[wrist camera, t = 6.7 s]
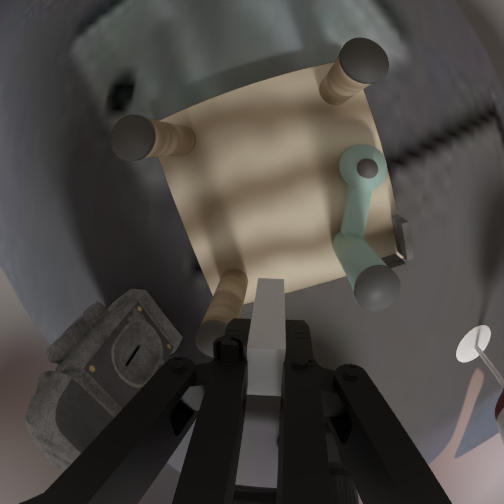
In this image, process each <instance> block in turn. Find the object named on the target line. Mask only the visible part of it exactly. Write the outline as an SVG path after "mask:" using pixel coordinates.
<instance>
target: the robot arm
mask: <svg viewBox="0 0 504 504" xmlns="http://www.w3.org/2000/svg"><path fill="white" fill-rule="evenodd" d="M213 354H214V360H213V361H212V362H209V363H206V364H199V365H194V363H193V361H192V360H190V359H188V358H185V357H174V358H172V359H169V360H168V361H166V362H165V363H164V364H163V365H162V366H161V367H160V369H159V370H158V371H157V372H156V373H155V374H154V375H153V376H152V377H151V378H150V379H149V381H148V382H147V383H146V384H145V385H144V386H143V387H142V388H141V389H140V390H139V391H138V393H137V394H136V395H135V396H134V397H133V398H132V399H131V400H130V401H129V402H128V403H127V405H126V406H125V407H124V408H123V409H122V410H121V411H120V412H119V413H118V414H117V415H116V416H115V418H114V419H113V420H112V421H111V422H110V423H109V424H108V425H107V426H106V427H105V428H104V429H103V431H102V432H101V433H100V434H99V435H98V436H97V437H96V438H95V439H94V440H93V441H92V442H91V443H90V444H89V446H88V447H87V448H86V449H85V450H84V451H83V452H82V453H81V454H80V455H79V456H78V457H77V458H76V459H75V461H74V462H73V463H72V464H71V465H70V466H69V467H68V468H67V469H66V470H65V471H64V472H63V473H62V474H61V476H59V478H58V479H57V480H56V481H55V482H54V483H53V484H52V485H51V486H50V487H49V488H48V489H47V490H46V491H45V492H44V493H43V494H40V495H38V496H36V497H34V498H31V499H29V500H27V501H24V502H22V503H19V504H137V503H138V502H139V501H140V500H141V498H142V497H143V495H144V494H145V493H146V491H147V490H148V488H149V487H150V486H151V484H152V483H153V481H154V480H155V478H156V477H157V475H158V474H159V473H160V471H161V470H162V469H163V467H164V466H165V464H166V463H167V461H168V460H169V458H170V457H171V455H172V454H173V453H174V451H175V450H176V448H177V447H178V445H179V444H180V442H181V441H182V439H183V438H184V436H185V435H186V433H187V432H188V430H189V429H190V427H191V426H192V424H193V423H194V421H195V420H196V422H195V426H194V429H193V433H192V436H191V439H190V443H189V446H188V450H187V453H186V457H185V460H184V464H183V467H182V471H181V474H180V478H179V481H178V485H177V488H176V492H175V495H174V498H173V502H172V504H359V501H358V493H359V496H360V498H361V500H362V502H363V504H452V503H451V501H450V500H449V498H448V496H447V495H446V493H445V492H444V490H443V488H442V487H441V485H440V483H439V482H438V480H437V479H436V478H435V476H434V474H433V472H432V471H431V469H430V468H429V466H428V465H427V463H426V461H425V460H424V458H423V457H422V455H421V454H420V452H419V451H418V449H417V447H416V446H415V444H414V443H413V441H412V440H411V438H410V437H409V435H408V434H407V432H406V431H405V429H404V428H403V426H402V425H401V423H400V422H399V420H398V419H397V417H396V416H395V414H394V413H393V411H392V410H391V408H390V407H389V405H388V404H387V402H386V401H385V399H384V398H383V396H382V395H381V393H380V392H379V390H378V389H377V387H376V386H375V384H374V383H373V381H372V380H371V379H370V377H369V376H368V374H367V373H366V371H365V370H364V369H363V368H361V367H359V366H357V365H353V364H344V365H342V366H339V367H338V368H337V369H336V371H334V370H329V369H326V368H323V367H321V366H319V365H318V364H317V363H316V361H315V359H314V358H313V352H312V345H311V339H310V331H309V326H308V325H307V323H306V322H305V321H304V320H285V295H284V279H270V278H258V282H257V288H256V294H255V301H254V307H253V313H252V319H239V318H233V319H232V320H231V321H230V322H229V323H228V325H227V328H226V332H225V336H222V337H219V338H217V339H216V340H215V341H214V342H213ZM246 395H264V396H281V402H280V410H279V416H280V427H279V447H278V478H277V488H265V487H253V486H243V485H235V481H236V474H237V467H238V460H239V453H240V446H241V439H242V432H243V425H244V418H245V410H246ZM324 417H325V420H326V422H327V424H324ZM196 418H197V419H196ZM357 491H358V493H357Z"/></svg>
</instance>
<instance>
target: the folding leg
mask: <svg viewBox="0 0 504 504" xmlns="http://www.w3.org/2000/svg"><path fill="white" fill-rule="evenodd" d="M365 158H366V159H372V160H374V161H375V162H376V163H377V165H378V173H377V175H376V176H375V177H374V178H371V179H367V178H364V177H362V176H360V175H359V173H358V171H357V164H358V162H359V161H360V160H362V159H365ZM338 168H339V173H340V175H341V177H342V179H343V180H344V182H345V183H347V184H348V187H347V194H346V200H345V207H344V213H343V219H342V225H341V231H340V232H338V233H337V234H336V236H335V237H334V239H333V250H334V252H335V254H336V256H337V258H338V260H339V262H340V264H341V266H342V268H343V270H344V272H345V274H346V276H347V278H348V280H349V282H350V284H351V286H352V288H353V290H354V294H355V297H356V299H357V301H358V303H359V305H360V306H361V307H362V308H364V309H365V310H368V311H381V310H384V309H386V308H387V307H389V306H390V305H391V304H392V303H393V302H394V301H395V300H396V298H397V297H398V294H399V291H400V281H399V278H398V276H397V275H396V274H395V272H394V271H393V270H392V269H391V268H389V267H388V266H387V265H386V264H385V263H384V262H383V260H382V259H381V258H380V257H379V256H378V255H377V254H376V252H375V251H374V250H373V249H372V248H371V247H370V246H369V244H368V243H367V242H366V241H365V240H364V239H363V238H364V233H365V228H366V223H367V217H368V212H369V206H370V200H371V194H372V190H374V189H376V188H378V187H379V186H380V185H381V184H382V183H383V181H384V180H385V177H386V174H387V164H386V160H385V158H384V156H383V154H382V153H381V152H380V151H379V150H378V149H377V148H375V147H373V146H370V145H353V146H350V147H349V148H347V149H346V150H345V151H344V152H343V153H342V155H341V156H340V159H339V164H338Z"/></svg>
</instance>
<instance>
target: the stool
mask: <svg viewBox="0 0 504 504" xmlns="http://www.w3.org/2000/svg"><path fill="white" fill-rule="evenodd" d="M388 69H389V61H388V57H387V55H386V53H385V51H384V50H383V49H382V48H381V47H380V46H379V45H378V44H377V43H375V42H374V41H372V40H369V39H366V38H354V39H351V40H349V41H348V42H346V43H345V45H344V46H343V48H342V49H341V51H340V54H339V56H338V58H337V59H336V61H335V62H333V63H328V64H323V65H319V66H314V67H310V68H306V69H302V70H298V71H294V72H291V73H287V74H283V75H280V76H276V77H273V78H269V79H266V80H263V81H260V82H256V83H253V84H250V85H247V86H244V87H241V88H238V89H236V90H233V91H230V92H227V93H224V94H222V95H219V96H216V97H214V98H211V99H209V100H206V101H204V102H201V103H199V104H196V105H194V106H191V107H189V108H187V109H184V110H182V111H180V112H177V113H175V114H173V115H171V116H169V117H166V118H164V119H162V120H160V121H157V120H152V119H147V118H145V117H143V116H139V115H128V116H125V117H123V118H122V119H120V120H119V121H118V122H117V124H116V125H115V126H114V128H113V130H112V134H111V147H112V150H113V152H114V153H115V155H116V156H117V157H118V158H120V159H121V160H124V161H137V160H141V159H143V158H153V157H158V158H159V161H160V163H161V166H162V169H163V172H164V174H165V177H166V180H167V183H168V185H169V188H170V191H171V193H172V196H173V199H174V201H175V204H176V207H177V209H178V212H179V214H180V217H181V219H182V222H183V225H184V227H185V230H186V232H187V235H188V237H189V240H190V242H191V245H192V247H193V250H194V252H195V254H196V257H197V259H198V262H199V264H200V266H201V269H202V271H203V274H204V276H205V278H206V281H207V283H208V285H209V288H210V290H211V292H212V295H213V297H212V300H211V302H210V304H209V307H208V309H207V311H206V314H205V316H204V318H203V321H202V323H201V325H200V326H199V327H198V329H197V332H196V334H195V344H196V346H197V348H198V349H199V350H200V351H201V352H202V353H204V354H205V355H207V356H210V357H213V358H214V354H213V342H214V341H215V340H216V339H217V338H219V337H222V336H225V332H226V328H227V325H228V323H229V322H230V321H231V320H232V319H233V318H239V319H240V317H241V313H242V308H243V304H247V303H250V302H254V301H255V294H256V288H257V282H258V278H270V279H284V293H288V292H292V291H295V290H299V289H303V288H306V287H310V286H313V285H317V284H320V283H324V282H327V281H330V280H334V279H337V278H341V277H344V276H346V274H345V272H344V270H343V268H342V266H341V264H340V262H339V260H338V258H337V256H336V254H335V252H334V250H333V239H334V237H335V236H336V234H337V233H338V232H340V231H341V225H342V219H343V213H344V207H345V200H346V194H347V187H348V184H347V183H345V182H344V180H343V179H342V177H341V175H340V173H339V168H338V164H339V159H340V156H341V155H342V153H343V152H344V151H345V150H346V149H347V148H349V147H350V146H353V145H370V146H373V147H375V148H377V149H378V150H379V151H380V152H381V153H382V154H383V150H382V147H381V143H380V140H379V136H378V133H377V130H376V127H375V123H374V120H373V117H372V114H371V111H370V108H369V105H368V102H367V99H366V97H365V94H364V91H363V89H364V88H366V87H367V86H369V85H370V84H372V83H375V82H377V81H379V80H381V79H382V78H383V77H384V76H385V75H386V74H387V72H388ZM383 156H384V154H383ZM357 171H358V173H359V175H360V176H362V177H364V178H367V179H371V178H374V177H375V176H376V175H377V173H378V165H377V163H376V162H375V161H374V160H372V159H366V158H365V159H362V160H360V161H359V162H358V164H357ZM363 239H364V240H365V241H366V242H367V243H368V244H369V246H370V247H371V248H372V249H373V250H374V251H375V252H376V254H377V255H378V256H379V257H380V258H381V259H382V260H383V262H384V263H385V264H386V265H387V266H388V267H389V268H391V269H392V270H393V271H394V272H395V274H397V273H400V272H403V271H406V270H407V268H406V263H405V262H404V261H403V260H402V259H401V258H405V259H406V260H407V261H409V260H412V259H414V254H413V247H412V240H411V233H410V227H409V222H408V221H407V220H405V219H403V218H402V217H400V216H399V215H397V210H396V205H395V200H394V195H393V190H392V186H391V182H390V178H389V173H388V169H387V174H386V177H385V180H384V181H383V183H382V184H381V185H380V186H379V187H378V188H376V189H374V190H372V194H371V200H370V206H369V212H368V217H367V223H366V228H365V233H364V238H363Z"/></svg>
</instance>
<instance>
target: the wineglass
mask: <svg viewBox="0 0 504 504" xmlns="http://www.w3.org/2000/svg"><path fill="white" fill-rule="evenodd" d="M490 336H491V331H490V329H489V327H488V326H486V325H480V326H477V327H475V328H473V329H472V330H470V331H469V332H468V333H467V334H466V335H465V336H464V338H463V339H462V340H461V342H460V344H459V346H458V348H457V352H456V356H457V359H458V360H459V361H460V362H469V361H471V360H473V359H475V358H476V357H478V356H479V355H480V356H481V358H482V359H483V360H484V362H485V363H486V364H487V366H488V367H489V369H490V370H491V371H492V373H493V374H494V375H495V377H496V378H497V380H498V381H499V383H500V384H501V385H502V387H503V388H504V379H503V378H502V377H501V375H500V374H499V373H498V371H497V370H496V368H495V367H494V366H493V364H492V363H491V362H490V360H489V359H488V358H487V357H486V355H485V354H484V353H483V350H484V349H485V348H486V346H487V344H488V342H489V340H490ZM495 418H496V422H497V426H498V430H499V433H500V436H501V439H502V441H503V443H504V389H503V391H502V393H501V395H500V397H499V399H498V401H497V404H496V407H495Z"/></svg>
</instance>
